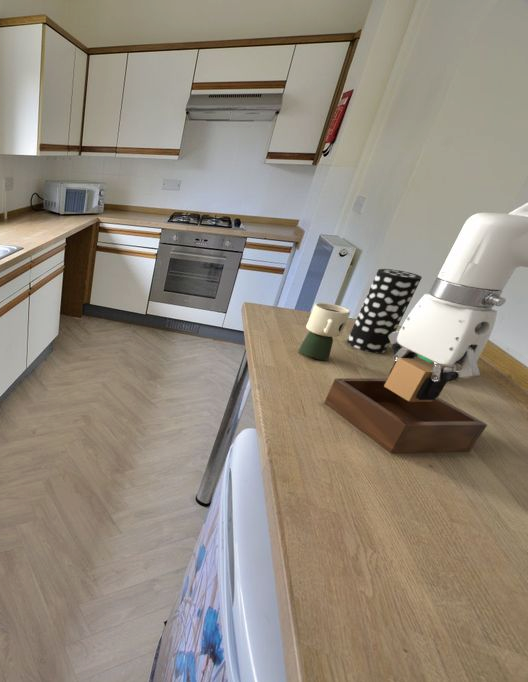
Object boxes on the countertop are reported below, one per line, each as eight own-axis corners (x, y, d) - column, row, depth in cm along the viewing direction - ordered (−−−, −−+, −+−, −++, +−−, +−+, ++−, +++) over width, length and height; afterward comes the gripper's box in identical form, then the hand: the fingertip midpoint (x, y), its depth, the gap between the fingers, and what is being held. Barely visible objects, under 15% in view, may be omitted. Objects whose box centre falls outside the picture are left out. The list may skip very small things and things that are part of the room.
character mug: (331, 368, 96) (354, 318, 91) (296, 360, 100) (316, 311, 94) (327, 351, 105) (347, 304, 99) (295, 344, 108) (313, 298, 103)
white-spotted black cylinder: (340, 341, 111) (370, 270, 103) (358, 337, 114) (389, 267, 106) (374, 355, 104) (410, 279, 96) (392, 350, 108) (429, 277, 99)
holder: (391, 402, 84) (404, 378, 82) (469, 451, 71) (487, 424, 68) (323, 402, 83) (334, 378, 80) (390, 453, 69) (405, 425, 67)
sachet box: (405, 386, 76) (421, 358, 74) (432, 401, 72) (449, 372, 69) (383, 386, 76) (398, 357, 73) (408, 401, 71) (425, 371, 69)
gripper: (549, 314, 58) (479, 418, 66) (431, 278, 73) (386, 366, 81) (502, 313, 57) (438, 418, 65) (393, 277, 73) (351, 366, 81)
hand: (409, 389), depth 73 cm, fingers closed on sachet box, 5 cm apart
